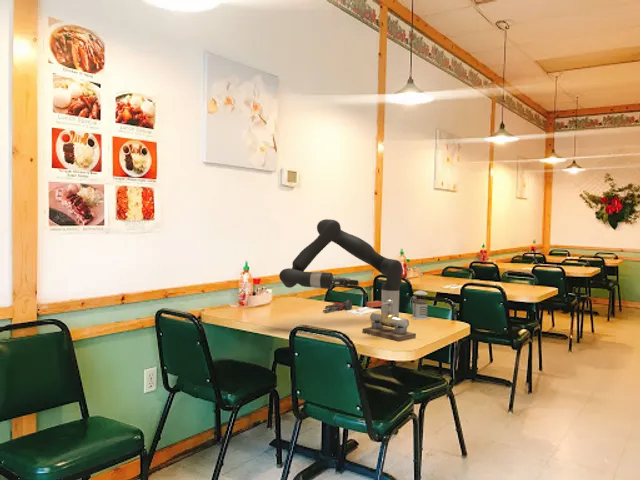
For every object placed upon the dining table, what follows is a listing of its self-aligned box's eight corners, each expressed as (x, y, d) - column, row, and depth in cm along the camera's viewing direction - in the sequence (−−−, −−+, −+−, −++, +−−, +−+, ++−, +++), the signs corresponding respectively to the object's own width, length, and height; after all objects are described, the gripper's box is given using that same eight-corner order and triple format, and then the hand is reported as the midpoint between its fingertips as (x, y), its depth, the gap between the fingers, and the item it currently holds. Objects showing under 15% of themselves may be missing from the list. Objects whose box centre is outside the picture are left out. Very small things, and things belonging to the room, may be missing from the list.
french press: (432, 319, 284) (434, 273, 283) (416, 320, 278) (418, 274, 277) (420, 315, 292) (421, 272, 291) (404, 317, 286) (406, 272, 285)
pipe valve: (410, 334, 233) (410, 307, 233) (401, 335, 229) (402, 308, 229) (376, 326, 248) (377, 301, 248) (368, 328, 244) (369, 302, 244)
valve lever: (394, 304, 238) (394, 300, 238) (371, 307, 228) (372, 302, 228) (389, 303, 241) (389, 299, 241) (366, 306, 230) (366, 301, 230)
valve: (335, 309, 320) (356, 308, 311) (311, 316, 299) (333, 316, 290) (334, 299, 320) (355, 298, 312) (310, 305, 299) (331, 305, 290)
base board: (415, 337, 235) (415, 333, 235) (399, 341, 227) (399, 336, 227) (379, 329, 251) (379, 325, 251) (362, 332, 243) (362, 328, 243)
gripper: (317, 273, 232) (354, 275, 227) (326, 271, 245) (361, 273, 239) (316, 290, 232) (354, 292, 227) (325, 286, 245) (361, 289, 240)
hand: (358, 282), depth 233 cm, fingers closed
